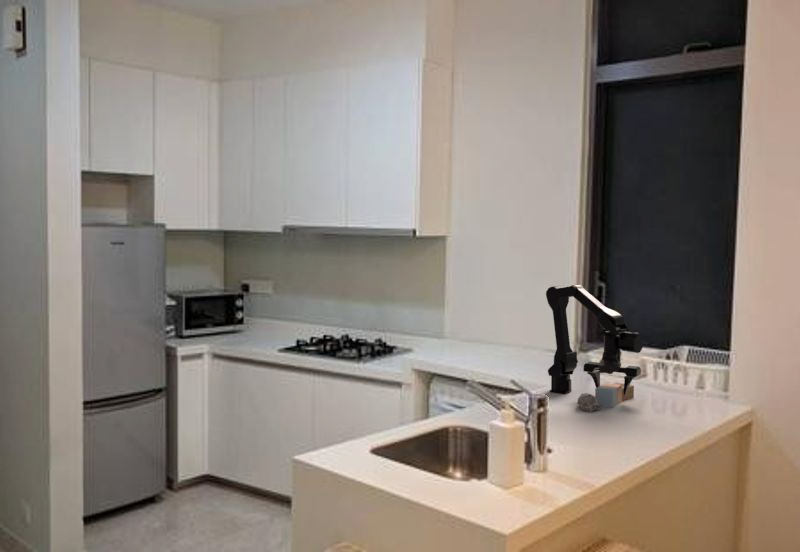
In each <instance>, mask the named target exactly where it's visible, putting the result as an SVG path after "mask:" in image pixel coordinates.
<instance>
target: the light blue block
mask: <svg viewBox="0 0 800 552" xmlns="http://www.w3.org/2000/svg"><path fill="white" fill-rule="evenodd" d="M594 393H595V395H594V396H595V398H596V400H597V401H598V403H599V404H600V405H601V408H609V407H610V409H613V408H614V407H616V406H617V405H618V404H617V388H612V387H604V386H601V385H600V386H599V387H597V388H596V387H595V392H594Z"/></svg>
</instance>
